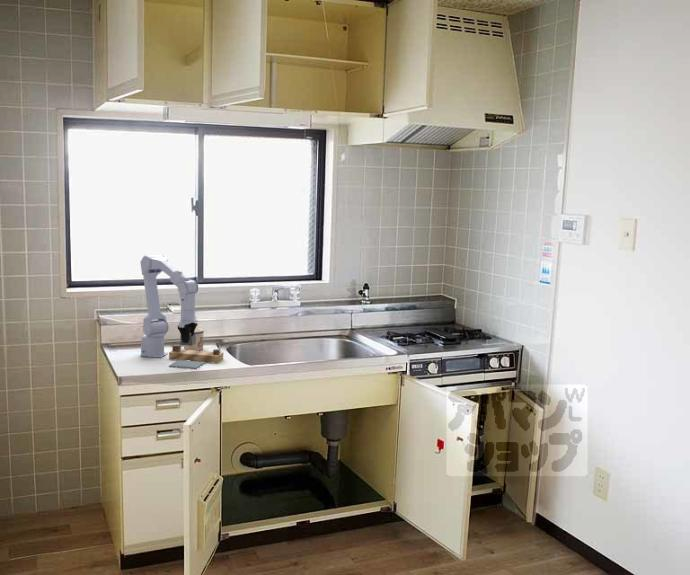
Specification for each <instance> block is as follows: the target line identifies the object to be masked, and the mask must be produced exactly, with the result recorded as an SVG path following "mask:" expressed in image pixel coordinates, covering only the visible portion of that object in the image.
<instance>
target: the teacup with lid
mask: <svg viewBox="0 0 690 575" xmlns="http://www.w3.org/2000/svg"><path fill="white" fill-rule="evenodd" d="M204 332H205V331H204V328H200V327H199V326H197V327H196V329H195V331H194V334H196V344H194V345H192V346H188V345H183V350H184V349H185V350H196V351H199V350H200V351H203V350H204Z"/></svg>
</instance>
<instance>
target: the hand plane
mask: <svg viewBox="0 0 690 575" xmlns="http://www.w3.org/2000/svg"><path fill="white" fill-rule="evenodd" d="M171 348H172V350H171V351H170V352H169V353H168V360H173V359H177V360H184V361H186V360H190V361H196V362H198V361H201V362H205V363H211V362H214V364H219V363H220V362H221V361H223V360H224V352H221V350H220V349H217V348H216V349H213V350H212V351H206V350H205V351H204V350H200V351H196V350H184V348H183V349H182V345H180V344H173V345H172V347H171ZM177 360H176V361H177Z"/></svg>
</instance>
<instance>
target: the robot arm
mask: <svg viewBox="0 0 690 575" xmlns="http://www.w3.org/2000/svg"><path fill="white" fill-rule="evenodd" d="M140 268H141V275H143V276H142V277H143V285H144V292H145V299H146V308H147V315H146V316H145V317H144V318H143V319H142V321H143V323H142V324H143V325H142V331H143V333H144V334H143V335H142V337H141V339H140V357H145V356H147V358H148V357H149V358H158V357H159V358H160V359H161V358H163V357H164V355H165V356H166V355H169V353H168V352H165V336H167V333H168V331H169V329H170V328H169V322H168V321H167V316H166V315H165V314H163V313H162V312H161V306H160V299H159V298H160V296H159V290H158V282H157V276H158V275H160V274H161V273H162V272H163V273H165V274H166V275H167V276H169V280H170V282H171V283H172V284H173V285H174V286H175V287H176V288H177V290H178V294H179V299H180V320H179V322H178V325H177V329H178V331H179V335H181V338H182V342H183V343H188V340H189V334H190V333H191V334H194V331H195V329H196V327H198V319H197V317H196V294H197V293H198V291H199V284H198V282H197V280H196V279H190V278H189V277H188V276H186V275H185V274H184V273H183V271H182V270H176V269H175V268H174V267H173V266H172V265H171V264H170V263H169V259H168V257H166V255H164V254H160V255H159V254H157V255H144V256H143V257H142V259H141V260H140Z"/></svg>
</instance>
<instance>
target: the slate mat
mask: <svg viewBox="0 0 690 575" xmlns="http://www.w3.org/2000/svg"><path fill="white" fill-rule="evenodd" d="M203 364H204V365H205V364H206V362H198V361H186V360H175V361H174V362H172V363H171V364H170V365H168V367H169V368H175V367H177V368H179V369H187V368H190V370H198V369H199V368H201V367H202V366H203ZM200 366H201V367H200ZM177 368H176V369H177ZM197 368H198V369H197Z"/></svg>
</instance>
